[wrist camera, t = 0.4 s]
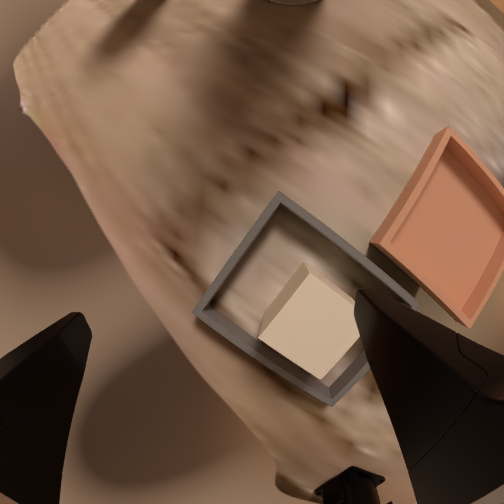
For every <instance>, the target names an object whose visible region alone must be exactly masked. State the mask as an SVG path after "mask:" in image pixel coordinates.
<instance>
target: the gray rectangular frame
mask: <svg viewBox="0 0 504 504" xmlns="http://www.w3.org/2000/svg"><path fill="white" fill-rule="evenodd" d="M281 205H282V206H283V207H285V208H286V209H287V210H289V211H290V212H292V213H293V214H294V215H296V216H297V217H298V218H300V219H301V220H302V221H304V222H305V223H307V224H308V225H309V226H311V227H312V228H313V229H315V230H316V231H317V232H318V233H320V234H321V235H322V236H324V237H325V238H326V239H328V240H329V241H330V242H332V243H333V244H334V245H335V246H337V247H338V248H339V249H341V250H342V251H343V252H344V253H346V254H347V255H348V256H349V257H351V258H352V259H353V260H354V261H356V262H357V263H358V264H359V265H361V266H362V267H363V268H364V269H366V270H367V271H368V272H369V273H371V274H372V275H373V276H374V277H375V278H377V279H378V280H379V281H380V282H382V283H383V284H384V285H385V286H386V287H388V288H389V289H390V290H391V291H392V292H393V293H395V294H396V295H397V296H398V297H399V298H401V299H402V300H403V301H402V302H401V303H402V304H404V305H406V306H408V307H410V308H411V309H413V310H415V311H417V309H418V308H419V307H420V305H421V304H420V303H419V302H418V301H417V300H416V299H415V298H414V297H412V296H411V295H410V294H409V293H408V292H407V291H406V290H404V289H403V288H402V287H401V286H400V285H399V284H398V283H396V282H395V281H394V280H393V279H392V278H391V277H389V276H388V275H387V274H386V273H385V272H384V271H382V270H381V269H380V268H379V267H378V266H376V265H375V264H374V263H373V262H372V261H370V260H369V259H368V258H367V257H365V256H364V255H363V254H362V253H360V252H359V251H358V250H357V249H356V248H354V247H353V246H352V245H351V244H349V243H348V242H347V241H345V240H344V239H343V238H342V237H340V236H339V235H338V234H337V233H335V232H334V231H333V230H331V229H330V228H329V227H327V226H326V225H325V224H323V223H322V222H321V221H320V220H318V219H317V218H316V217H314V216H313V215H312V214H310V213H309V212H308V211H306V210H305V209H303V208H302V207H301V206H299V205H298V204H297V203H295V202H294V201H292V200H291V199H290V198H288V197H287V196H286V195H284V194H283V193H281V192H280V191H278V192H277V194H276V195H275V196H274V198H273V199H272V200H271V202H270V203H269V204H268V206H267V207H266V209H265V210H264V211H263V213H262V214H261V215H260V217H259V218H258V220H257V221H256V222H255V224H254V225H253V227H252V228H251V229H250V231H249V232H248V233H247V235H246V236H245V238H244V239H243V240H242V242H241V243H240V245H239V246H238V247H237V249H236V250H235V252H234V253H233V254H232V256H231V257H230V259H229V260H228V261H227V263H226V264H225V266H224V267H223V268H222V270H221V271H220V273H219V274H218V275H217V277H216V278H215V280H214V281H213V282H212V284H211V285H210V287H209V288H208V289H207V291H206V292H205V294H204V295H203V297H202V298H201V299H200V301H199V302H198V304H197V305H196V307H195V308H194V309H193V311H192V313H193V314H194V315H196V316H197V317H198V318H199V319H201V320H202V321H203V322H205V323H206V324H207V325H209V326H210V327H211V328H213V329H214V330H215V331H217V332H218V333H219V334H221V335H222V336H224V337H225V338H226V339H228V340H229V341H230V342H232V343H233V344H235V345H236V346H237V347H239V348H240V349H242V350H243V351H245V352H246V353H247V354H249V355H250V356H252V357H253V358H255V359H256V360H258V361H259V362H261V363H262V364H263V365H265V366H266V367H268V368H269V369H271V370H272V371H274V372H276V373H277V374H279V375H280V376H282V377H283V378H285V379H286V380H288V381H290V382H291V383H293V384H294V385H296V386H297V387H299V388H301V389H302V390H304V391H306V392H307V393H309V394H310V395H312V396H314V397H315V398H317V399H319V400H321V401H322V402H324V403H326V404H327V405H329V406H331V407H333V406H334V405H335V404H336V403H337V402H338V401H339V400H340V399H341V398H342V397H343V396H344V395H345V394H346V393H347V392H348V391H349V390H350V389H351V388H352V387H353V386H354V385H355V384H356V383H357V382H358V381H359V380H360V379H361V378H362V376H363V375H364V374H365V373H366V372H367V371H368V370H369V369H370V366H369V364H368V361H367V358H366V355H365V352H364V350H363V351H362V353H361V354H360V355H359V356H358V357H357V358H356V359H355V360H354V362H353V363H352V364H351V365H350V366H349V367H348V368H347V369H346V370H345V371H344V372H343V374H342V375H341V376H340V377H339V378H338V379H337V380H336V381H335V382H334V383H333V384H332V385H331V386H330V387H327V386H325V385H324V384H322V383H321V382H319V381H317V380H316V379H314V378H313V377H311V376H310V375H308V374H306V373H305V372H303V371H302V370H300V369H299V368H297V367H296V366H294V365H293V364H291V363H290V362H288V361H287V360H285V359H284V358H282V357H281V356H279V355H278V354H276V353H275V352H273V351H272V350H270V349H269V348H267V347H266V346H265V345H263V344H262V343H260V342H259V341H257V340H256V339H255V338H253V337H252V336H250V335H249V334H248V333H246V332H245V331H243V330H242V329H241V328H239V327H238V326H236V325H235V324H234V323H232V322H231V321H230V320H228V319H227V318H226V317H224V316H223V315H222V314H220V313H219V312H218V311H216V310H215V309H214V308H212V307H211V306H210V305H209V304H210V302H211V301H212V299H213V298H214V297H215V295H216V294H217V293H218V291H219V290H220V288H221V287H222V286H223V284H224V283H225V281H226V280H227V279H228V277H229V276H230V275H231V273H232V272H233V270H234V269H235V268H236V266H237V265H238V264H239V262H240V261H241V259H242V258H243V257H244V255H245V254H246V252H247V251H248V250H249V248H250V247H251V246H252V244H253V243H254V241H255V240H256V239H257V237H258V236H259V235H260V233H261V232H262V230H263V229H264V228H265V226H266V225H267V224H268V222H269V221H270V219H271V218H272V217H273V215H274V214H275V213H276V211H277V210H278V208H279V207H280V206H281Z"/></svg>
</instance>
